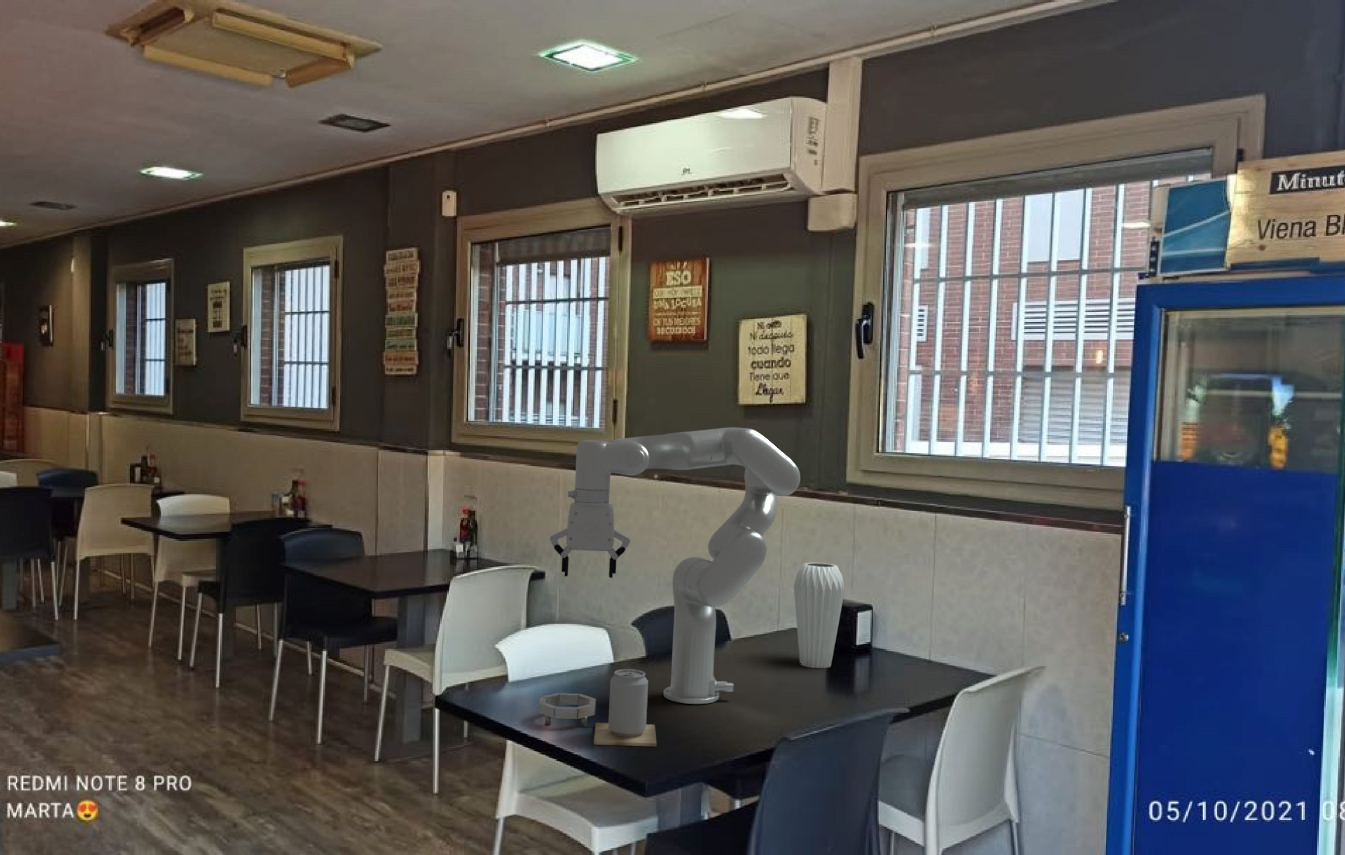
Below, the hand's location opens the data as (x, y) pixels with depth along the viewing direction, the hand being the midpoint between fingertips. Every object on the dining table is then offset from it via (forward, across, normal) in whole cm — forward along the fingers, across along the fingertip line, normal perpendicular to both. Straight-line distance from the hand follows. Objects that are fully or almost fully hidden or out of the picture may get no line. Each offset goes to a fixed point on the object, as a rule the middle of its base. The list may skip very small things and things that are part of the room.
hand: (588, 576), depth 227 cm
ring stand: (+28, -3, -11) cm, 30 cm away
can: (+28, +9, -20) cm, 35 cm away
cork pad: (+28, +8, -21) cm, 36 cm away
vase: (+28, +61, +43) cm, 80 cm away
